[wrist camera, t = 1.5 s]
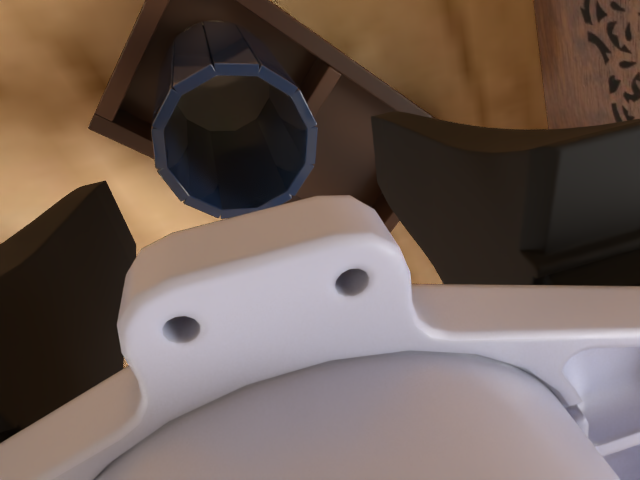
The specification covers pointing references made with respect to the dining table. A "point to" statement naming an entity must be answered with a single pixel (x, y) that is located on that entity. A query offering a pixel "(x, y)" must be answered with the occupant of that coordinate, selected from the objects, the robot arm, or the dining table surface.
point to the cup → (230, 123)
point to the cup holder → (300, 64)
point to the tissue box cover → (589, 61)
